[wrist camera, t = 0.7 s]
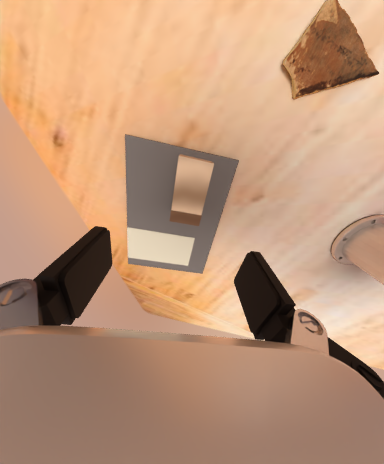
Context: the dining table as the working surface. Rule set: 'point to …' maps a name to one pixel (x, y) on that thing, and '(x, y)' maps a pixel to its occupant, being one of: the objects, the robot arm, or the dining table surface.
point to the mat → (169, 206)
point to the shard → (328, 53)
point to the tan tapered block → (190, 189)
